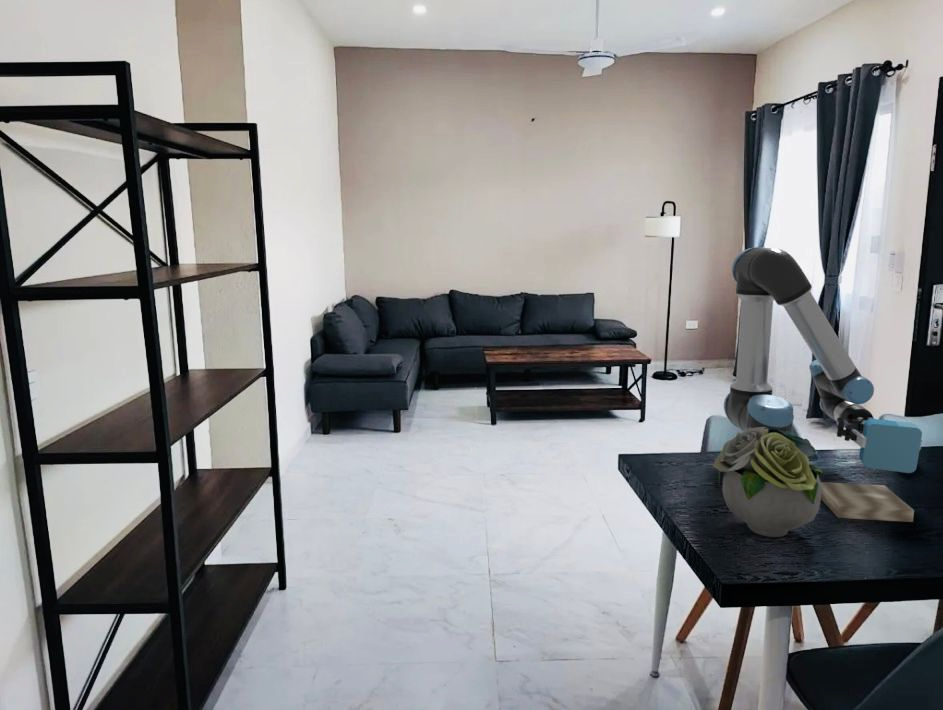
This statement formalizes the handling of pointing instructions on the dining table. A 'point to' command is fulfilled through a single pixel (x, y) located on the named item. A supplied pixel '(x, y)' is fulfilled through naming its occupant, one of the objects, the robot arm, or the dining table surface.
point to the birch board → (865, 502)
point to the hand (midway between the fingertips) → (891, 443)
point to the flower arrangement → (770, 480)
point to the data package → (891, 445)
